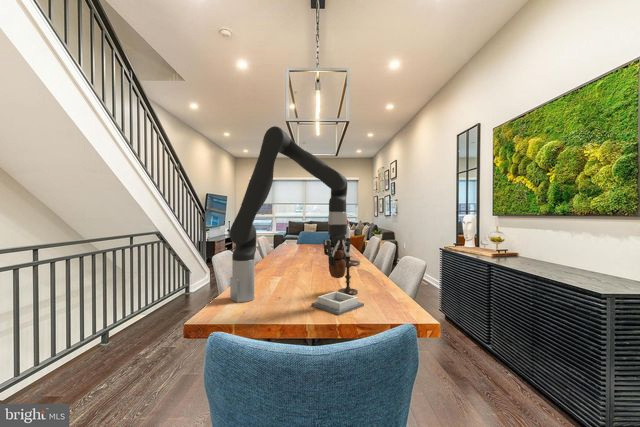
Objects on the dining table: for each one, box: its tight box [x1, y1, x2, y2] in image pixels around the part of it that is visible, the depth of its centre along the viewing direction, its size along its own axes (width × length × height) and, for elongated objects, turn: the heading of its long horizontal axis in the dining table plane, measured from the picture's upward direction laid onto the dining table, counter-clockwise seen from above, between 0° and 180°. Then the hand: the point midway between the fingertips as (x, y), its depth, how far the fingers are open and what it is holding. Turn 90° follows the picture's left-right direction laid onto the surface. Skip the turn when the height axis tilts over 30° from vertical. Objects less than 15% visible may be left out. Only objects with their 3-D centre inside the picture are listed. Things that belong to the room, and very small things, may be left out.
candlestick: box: [337, 218, 360, 296], centre depth 135 cm, size 11×11×35 cm
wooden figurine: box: [328, 244, 347, 279], centre depth 117 cm, size 7×6×15 cm
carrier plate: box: [311, 290, 365, 316], centre depth 117 cm, size 15×15×4 cm
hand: (337, 264), depth 117 cm, fingers closed on wooden figurine, 6 cm apart
